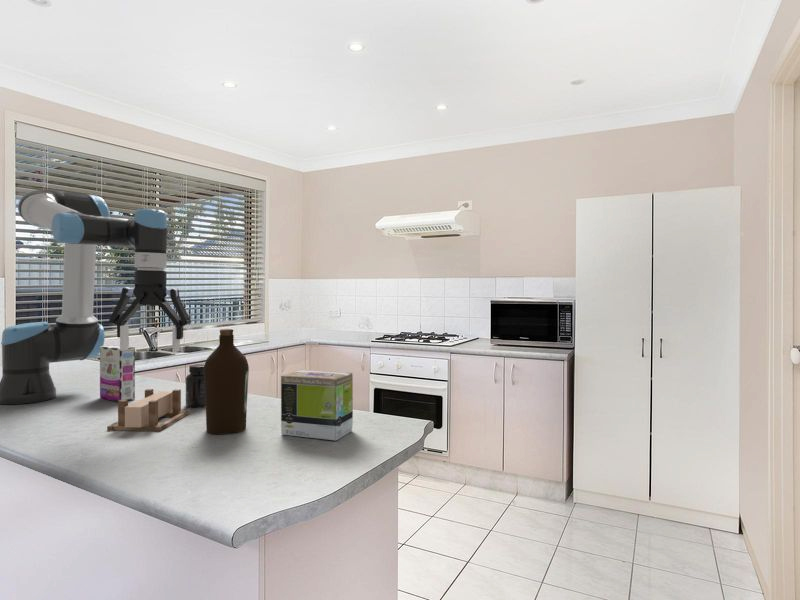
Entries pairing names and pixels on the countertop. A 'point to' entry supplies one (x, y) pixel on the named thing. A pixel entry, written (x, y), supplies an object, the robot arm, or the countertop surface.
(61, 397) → the countertop surface
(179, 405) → the rack
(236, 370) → the olive oil
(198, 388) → the supplement bottle
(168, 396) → the clay strip
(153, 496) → the countertop surface
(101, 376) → the candy bar box
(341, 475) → the countertop surface
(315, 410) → the tea box
